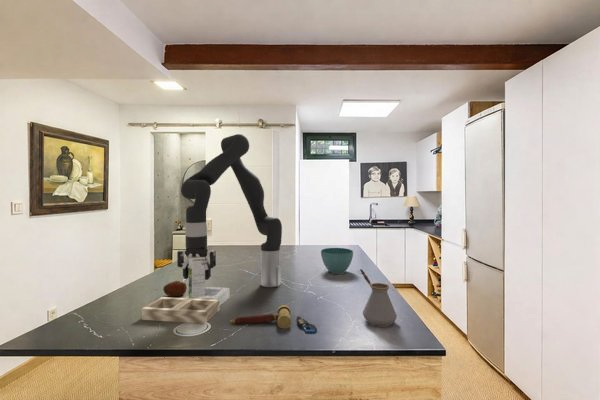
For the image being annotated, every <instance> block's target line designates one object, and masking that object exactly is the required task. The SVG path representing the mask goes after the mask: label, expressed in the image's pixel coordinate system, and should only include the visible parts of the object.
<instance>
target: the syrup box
mask: <svg viewBox="0 0 600 400" xmlns="http://www.w3.org/2000/svg"><path fill="white" fill-rule="evenodd" d="M201 258H202V259H203V260H204V261H205V257H195V256H193V257H189V265H188V279H187V280H188V281H187V282H188V283H187V284H188V286H187V290H188V291H187V292H188V293H187V296H188V295H189V298H195V297H202V296H205V287H206V280H205V270H206V269H205V268H204V265H202V264H201V262H202V261H201Z"/></svg>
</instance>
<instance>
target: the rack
mask: <svg viewBox="0 0 600 400" xmlns="http://www.w3.org/2000/svg"><path fill="white" fill-rule="evenodd" d="M140 310H141V312H140V313H141V321H142V320H143V321H158V322H173V323H174V322H175V323H189V324H202V325H203V324H205V325H206V324H207V323H208V322H209V321H210V320H211V319H212V318H213V317H214V316H215V315H216V314H217V313H218V312H220V306H219V300H211V299H191V298H186V297H172V296H170V297H168V296H166V297H165V296H161V297H159V298H157V299H156V300H154V301H152V302H151V303H148V304H147V305H145V306H143V307H142V308H141V309H140Z"/></svg>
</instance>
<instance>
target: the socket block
mask: <svg viewBox="0 0 600 400" xmlns="http://www.w3.org/2000/svg"><path fill="white" fill-rule="evenodd" d="M230 294H231V293H230V287H219V286H205V296H202V297H195V298H191V299H211V300H219V307H220V306H222V305H221V304H224V303H225V302H226V301H227V300H228V299H229V298H230ZM185 298H189V295H188V294H187V295H186V296H185Z"/></svg>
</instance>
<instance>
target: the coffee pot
mask: <svg viewBox="0 0 600 400" xmlns="http://www.w3.org/2000/svg"><path fill="white" fill-rule="evenodd" d="M357 273H358V274H359V275H360V274H361V275H363V278H364V280H365V282H367V284H368V285H369V287H370V288H371V293H370V294H369V298H368V300H367V302H366V303H365V307H364V309H363V310H362V315H363V318H364V319H365V320H366V322H368V323H369V324H370V325H372V326H374V327H378V328H386V327H390V326H391V325H392V324H393V323H394V322H395V321H397V320H396V319H397V317H398V316H397V313H396V310H395V308H394V306H393V303H392V301H391V298H390V296H389V293H388V290H389V289H390V285H389V284H386V283H381V282H373V283H372V282H371V280H370V279H369V277H368V276H367V274H366V273H365V272H364V270H363V269H361V268H360V269H358V271H357Z"/></svg>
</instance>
